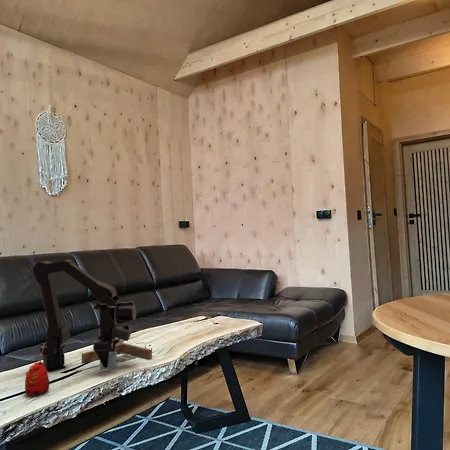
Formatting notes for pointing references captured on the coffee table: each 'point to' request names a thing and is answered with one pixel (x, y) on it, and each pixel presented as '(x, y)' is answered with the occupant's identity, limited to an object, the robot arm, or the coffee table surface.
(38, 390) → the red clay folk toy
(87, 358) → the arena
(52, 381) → the coffee table surface
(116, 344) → the die
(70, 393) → the coffee table surface
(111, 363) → the cube
